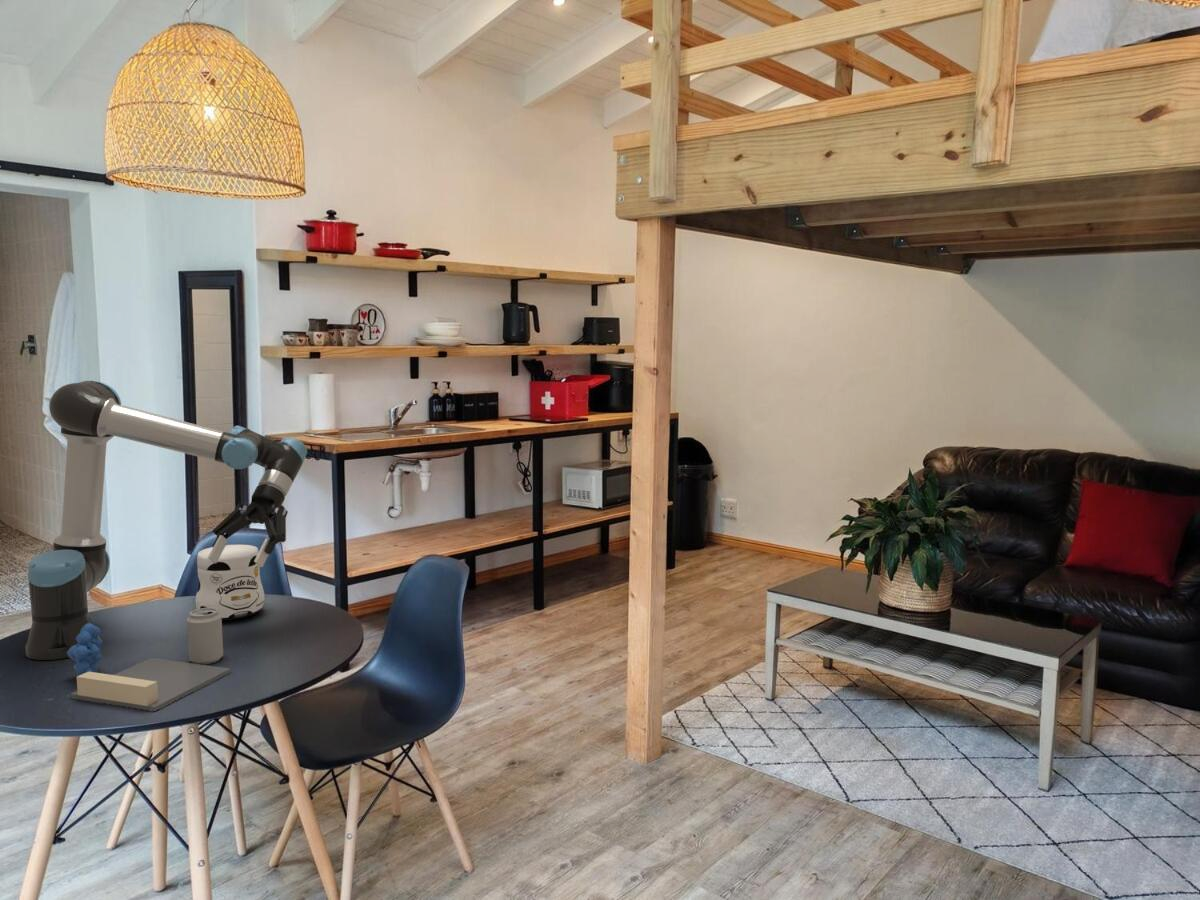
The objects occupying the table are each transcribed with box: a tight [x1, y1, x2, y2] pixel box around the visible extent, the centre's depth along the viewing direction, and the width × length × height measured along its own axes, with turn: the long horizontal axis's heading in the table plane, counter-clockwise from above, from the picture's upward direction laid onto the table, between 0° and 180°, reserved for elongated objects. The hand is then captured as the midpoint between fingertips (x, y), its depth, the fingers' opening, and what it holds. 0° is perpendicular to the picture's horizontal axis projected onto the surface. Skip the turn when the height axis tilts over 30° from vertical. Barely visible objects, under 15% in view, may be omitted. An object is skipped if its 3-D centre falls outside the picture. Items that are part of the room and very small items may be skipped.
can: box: [186, 608, 224, 665], centre depth 207 cm, size 8×8×12 cm
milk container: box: [195, 544, 265, 621], centre depth 240 cm, size 17×17×18 cm
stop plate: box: [70, 657, 231, 712], centre depth 192 cm, size 22×22×5 cm
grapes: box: [67, 623, 104, 676], centre depth 196 cm, size 12×7×12 cm, turn 12°
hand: (234, 562), depth 215 cm, fingers open, 13 cm apart
